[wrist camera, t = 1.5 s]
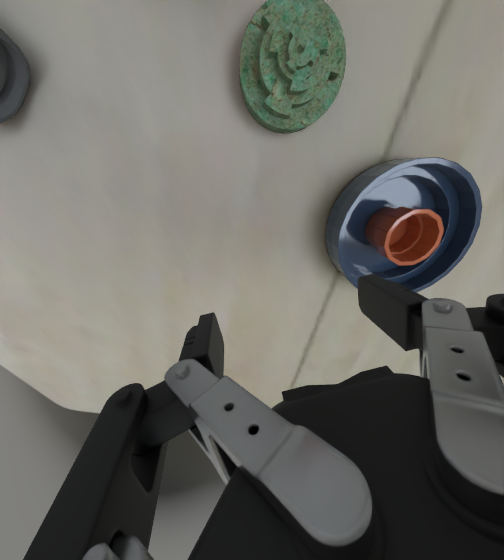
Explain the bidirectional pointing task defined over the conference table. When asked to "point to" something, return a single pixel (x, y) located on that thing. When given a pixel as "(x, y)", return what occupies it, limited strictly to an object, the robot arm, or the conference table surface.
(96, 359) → the conference table surface
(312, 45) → the decorative artifact
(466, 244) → the large bowl
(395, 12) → the conference table surface
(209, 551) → the robot arm
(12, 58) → the bluetooth speaker
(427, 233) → the small bowl
